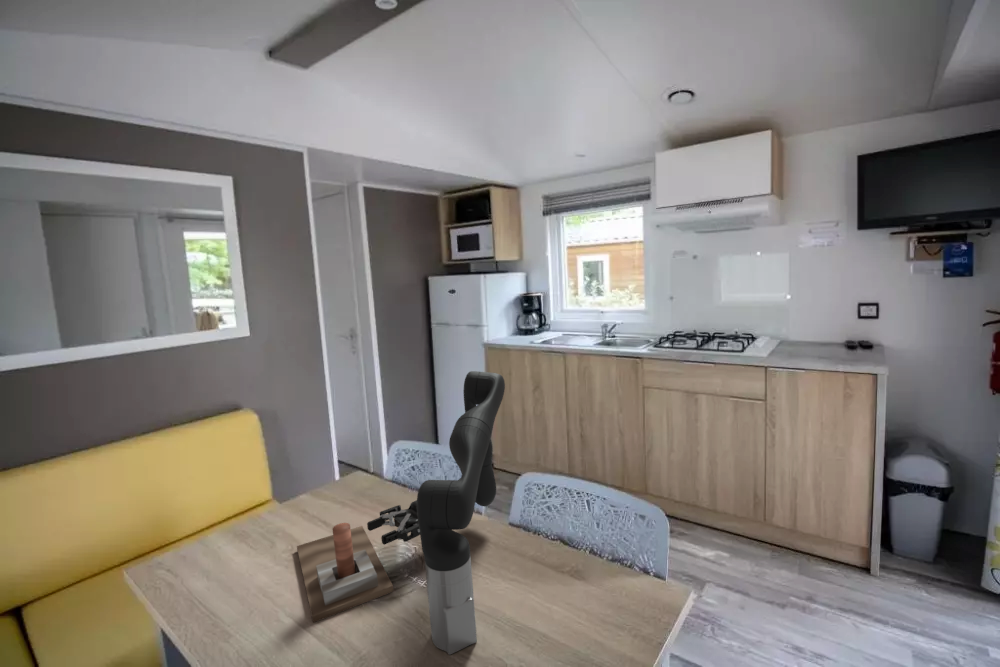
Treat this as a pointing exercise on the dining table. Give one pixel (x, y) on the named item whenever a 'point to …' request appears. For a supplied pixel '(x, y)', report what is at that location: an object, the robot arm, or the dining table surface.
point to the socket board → (327, 555)
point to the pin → (343, 550)
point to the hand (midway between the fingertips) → (374, 533)
